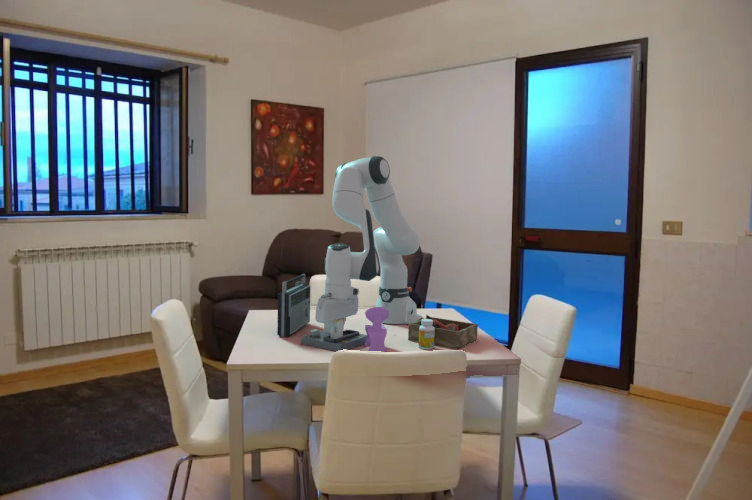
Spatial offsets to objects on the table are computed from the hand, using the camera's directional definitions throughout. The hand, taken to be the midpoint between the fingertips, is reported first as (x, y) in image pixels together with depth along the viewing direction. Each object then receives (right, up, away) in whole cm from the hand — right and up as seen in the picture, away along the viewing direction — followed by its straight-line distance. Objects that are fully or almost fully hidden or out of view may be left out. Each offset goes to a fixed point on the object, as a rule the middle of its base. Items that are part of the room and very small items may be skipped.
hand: (336, 331), depth 207 cm
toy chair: (+13, -6, 0) cm, 15 cm away
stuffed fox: (+38, -5, +15) cm, 41 cm away
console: (-1, -5, +5) cm, 7 cm away
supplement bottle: (+31, -6, +3) cm, 32 cm away
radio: (-17, -3, +23) cm, 29 cm away
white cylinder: (0, -3, 0) cm, 3 cm away
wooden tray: (+38, -5, +14) cm, 41 cm away
